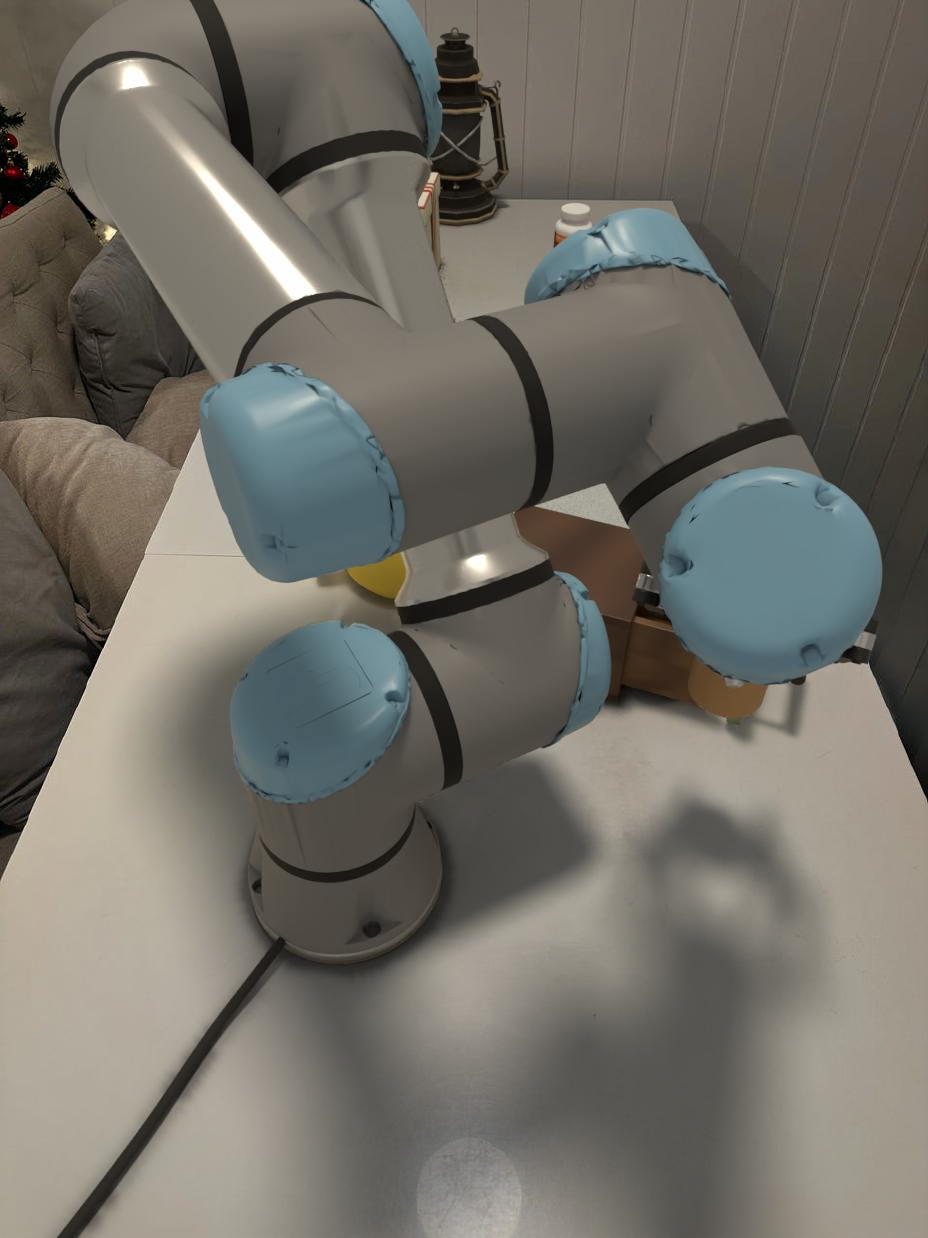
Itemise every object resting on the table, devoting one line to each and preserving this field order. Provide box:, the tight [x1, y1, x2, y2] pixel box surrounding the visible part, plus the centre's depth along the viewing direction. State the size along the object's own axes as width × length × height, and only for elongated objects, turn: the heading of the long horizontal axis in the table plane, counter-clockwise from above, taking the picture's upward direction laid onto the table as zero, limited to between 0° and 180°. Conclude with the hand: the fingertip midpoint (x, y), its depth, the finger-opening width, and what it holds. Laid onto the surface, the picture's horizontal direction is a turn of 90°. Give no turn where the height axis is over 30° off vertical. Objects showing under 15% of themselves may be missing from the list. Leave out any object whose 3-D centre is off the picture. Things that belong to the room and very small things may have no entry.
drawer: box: [621, 605, 808, 727], centre depth 85 cm, size 18×11×9 cm, turn 68°
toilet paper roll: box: [688, 655, 769, 719], centre depth 66 cm, size 6×6×7 cm
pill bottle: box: [552, 202, 594, 250], centre depth 151 cm, size 6×6×11 cm
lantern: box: [428, 26, 510, 226], centre depth 165 cm, size 20×16×30 cm
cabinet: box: [513, 505, 645, 703], centre depth 89 cm, size 15×13×11 cm
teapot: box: [346, 552, 406, 600], centre depth 96 cm, size 20×18×11 cm
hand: (744, 623), depth 68 cm, fingers closed on toilet paper roll, 5 cm apart
